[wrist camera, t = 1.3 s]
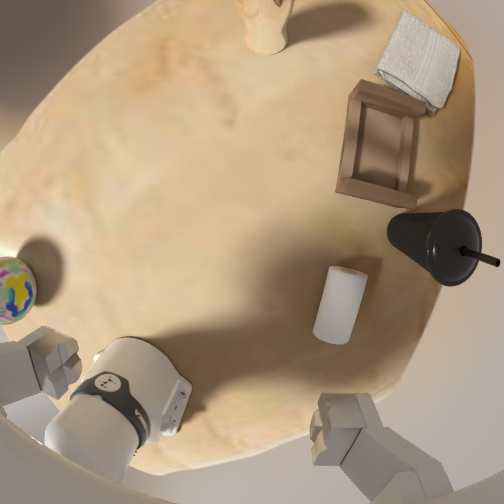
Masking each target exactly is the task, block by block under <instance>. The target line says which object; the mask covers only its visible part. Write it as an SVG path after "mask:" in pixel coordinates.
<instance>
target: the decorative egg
mask: <svg viewBox="0 0 504 504" xmlns="http://www.w3.org/2000/svg"><path fill="white" fill-rule="evenodd" d="M36 294H37V286H36V281H35V277H34V275H33V273H32V271H31V269H30V268H29V267H28V266H27V264H25V263H24V262H23V261H21V260H19V259H17V258H14V257H0V325H8V324H12V323H15V322H17V321H19V320H21V319H22V318H23V317H25V316H26V315H27V314H28V313H29V311H30V310H31V308H32V307H33V305H34V302H35V299H36Z"/></svg>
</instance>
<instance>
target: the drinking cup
mask: <svg viewBox="0 0 504 504" xmlns="http://www.w3.org/2000/svg"><path fill="white" fill-rule="evenodd" d="M387 236H388V239H389V241H390V243H391V244H392V245H393V246H394V247H396V248H397V249H399V250H400V251H401V252H403V253H404V254H405V255H407V256H408V257H410V258H411V259H412V260H414V261H415V262H416V263H418V264H419V265H420V266H422V267H423V268H424V269H426V270H427V271H428V272H430V274H431V275H432V277H433V278H434V279H435V280H436V281H437V282H439V283H440V284H442V285H444V286H456V285H459V284H461V283H463V282H465V281H466V280H467V279H468V278H469V277H470V276H471V275H472V274H473V272H474V270H475V269H476V267H477V265H478V262H479V260H480V261H483V262H485V263H488V264H490V265H493V266H495V267H499V265H500V259H498V258H495V257H492V256H489V255H486V254H483V253H481V250H482V237H481V232H480V228H479V226H478V224H477V222H476V221H475V219H474V218H473V216H471V214H469V213H468V212H466V211H464V210H461V209H451V210H448V211H446V212H434V213H413V214H399V215H396V216H395V217H393V218H392V219H391V221H390V222H389V225H388V228H387Z"/></svg>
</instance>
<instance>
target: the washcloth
mask: <svg viewBox="0 0 504 504" xmlns="http://www.w3.org/2000/svg"><path fill="white" fill-rule="evenodd" d="M459 53H460V50H459V47H458V46H457V45H456V44H454V43H453V42H452V41H450V40H449V39H448V38H446V37H445V36H443V35H441V34H440V33H438V32H437V31H435V30H434V29H432V28H430V27H429V25H428V24H426V23H425V22H424V21H422V20H421V19H419V18H418V17H416V16H415V15H413V14H411V13H409V12H408V11H403V12H401V15H400V17H399V19H398V22H397V25H396V27H395V29H394V31H393V32H392V35H391V36H390V38H389V41H388V45H387V47H386V48H385V50H384V52H383V55H382V56H381V58H380V59H379V62H378V64H377V66H376V68H375V69H374V73H373V74H374V75H378V76H380V77H381V79H382V80H383V81H384V82H385V83H386V84H388V85H389V86H391V87H392V88H393V89H395V90H396V91H398V92H401V93H403V94H406V95H409V96H411V97H414V98H416V99H418V100H421V101H423V102H426V112H427V113H428V114H430V115H431V116H434V114H435V113H436V110H437V108H442V107H443V106H444V104H445V101H446V98H447V96H448V94H449V92H450V91H451V90H452V84H453V80H454V75H455V72H456V68H457V61H458V58H459Z"/></svg>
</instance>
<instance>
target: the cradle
mask: <svg viewBox="0 0 504 504" xmlns="http://www.w3.org/2000/svg"><path fill="white" fill-rule="evenodd" d="M425 113H426V102H423V101H421V100H418V99H416V98H414V97H411V96H409V95H406V94H403V93H401V92H398V91H395V90H393V89H390V88H387V87H384V86H381V85H378V84H375V83H372V82H369V81H366V80H362V79H361V80H360V81H359V83H358V84H357V85H356V87H355V88H354V89H353V91H352V92H351V93H350V95H349V99H348V108H347V117H346V125H345V132H344V140H343V147H342V154H341V160H340V167H339V173H338V179H337V185H336V191H335V192H336V193H341V194H345V195H349V196H353V197H358V198H362V199H366V200H370V201H374V202H378V203H381V204H385V205H389V206H393V207H397V208H407V209H416V205H417V199H418V197H416V196H413V195H409V194H406V189H407V182H408V175H409V167H410V158H411V149H412V137H413V123H414V119H415V118H417V117H419V116H421V115H423V114H425Z"/></svg>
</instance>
